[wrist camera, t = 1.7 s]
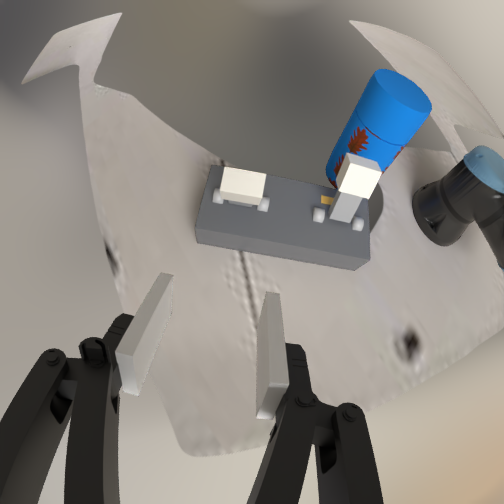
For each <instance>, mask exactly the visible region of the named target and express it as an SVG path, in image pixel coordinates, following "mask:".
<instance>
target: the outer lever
mask: <svg viewBox="0 0 504 504" xmlns="http://www.w3.org/2000/svg"><path fill="white" fill-rule="evenodd" d="M265 179H266V174H263V173H258V172H253V171H247V170H241V169H236V168H230V167H224V172H223V177H222V182H221V187H220V194H221V198H222V199H225V200H228V203H230V204H236V205H241V206H247V207H252V205H259V204H260V201H261V199H262V196H263V190H264V184H265Z"/></svg>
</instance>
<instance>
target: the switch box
mask: <svg viewBox="0 0 504 504" xmlns="http://www.w3.org/2000/svg"><path fill="white" fill-rule="evenodd" d="M223 172H224V167H223V166H217V165H211V169H210V172H209V176H208V180H207V183H206V187H205V191H204V194H203V198H202V202H201V206H200V209H199V213H198V217H197V221H196V225H195V232H196V238H197V243H200V244H205V245H211V246H216V247H222V248H228V249H233V250H239V251H245V252H250V253H256V254H262V255H267V256H273V257H279V258H284V259H290V260H296V261H302V262H307V263H313V264H319V265H324V266H330V267H336V268H341V269H347V270H353V271H355V270H356V269H358V268H359V267H361V266H362V265H364V264H365V263H367V262H368V261H369V260H370V232H369V211H368V199H367V198H362V200H361V202H360V204H359V206H358V208H357V210H356V212H355V214H354V216H353V218H352V220H351V222H350V223H347V222H343V221H338V220H334V219H329V213H328V211H329V208H330V206H331V204H332V202H333V199H334V197H335V195H336V192H337V190H336V189H332V188H327V187H324V186H320V185H315V184H311V183H306V182H302V181H297V180H292V179H288V178H283V177H278V176H273V175H268V174H266V179H265V184H264V190H263V196H262V199H261V201H260V204H259V205H252V207H247V206H241V205H236V204H230V203H228V200H225V199H222V198H221V194H220V187H221V182H222V177H223Z"/></svg>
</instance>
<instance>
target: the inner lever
mask: <svg viewBox="0 0 504 504" xmlns="http://www.w3.org/2000/svg"><path fill="white" fill-rule="evenodd" d="M381 174H382V171H381V169H380V167H379V165H378V163H377V162H376V161H373V160H370V159H367V158H364V157H360V156H357V155H354V154H350V153H346V156H345V158H344V161H343V163H342V166H341V168H340V171H339V173H338V175H337V178H336V182H337V187H338V190H337V192H336V195H335V197H334V199H333V202H332V204H331V206H330V208H329V211H328V213H329V219H334V220H338V221H343V222H347V223H350V222H351V220H352V218H353V216H354V214H355V212H356V210H357V208H358V206H359V204H360V202H361V200H362V198H367V199H369V198H370V196H371V194H372V192H373V190H374V188H375V186H376V184H377V182H378V180H379V178H380V176H381Z"/></svg>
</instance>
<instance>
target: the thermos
mask: <svg viewBox="0 0 504 504" xmlns="http://www.w3.org/2000/svg"><path fill="white" fill-rule="evenodd" d="M431 110H432V106H431V102H430V100H429V98H428V97H427V95H426V94H425V93H424V92H423V91H422V89H420V88H419V87H418V86H417V85H416V84H415V83H414V82H412V81H411V80H409V79H408V78H406V77H405V76H403V75H401V74H399V73H397V72H394V71H391V70H387V69H379V70H377V71H375V73H374V74H373V76H372V77H371V79H370V80H369V82H368V84H367V86H366V88H365V90H364V92H363V94H362V96H361V98H360V100H359V102H358V104H357V106H356V108H355V110H354V111H353V113H352V115H351V117H350V119H349V121H348V123H347V125H346V127H345V129H344V130H343V132H342V134H341V136H340V138H339V140H338V142H337V144H336V146H335V147H334V149H333V151H332V154H331V156H330V158H329V160H328V163H327V166H326V175H327V177H328V179H329V181H330V183H331V184H332V185H333V186H334V187H335V188H336V189H337V190H338V187H337V182H336V178H337V175H338V173H339V171H340V168H341V166H342V163H343V161H344V158H345V156H346V153H350V154H354V155H357V156H360V157H364V158H367V159H370V160H373V161H376V162H377V163H378V165H379V167H380V169H381V171H382V174H383V173H384V172H385V170H386V169H387V168H388V167H389V166H390V164H391V163H392V162H393V161H394V159H395V158H396V157H397V156H398V154H399V153H400V152H401V151H402V149H403V148H404V147H405V146H406V144H407V143H408V142H409V141H410V139H411V138H412V137H413V135H414V134H415V133H416V132H417V130H418V129H419V128H420V126H421V125H422V124H423V122H424V121H425V120H426V118H427V117H428V115H429V114H430V112H431ZM382 174H381V175H382ZM380 177H381V176H380Z"/></svg>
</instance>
